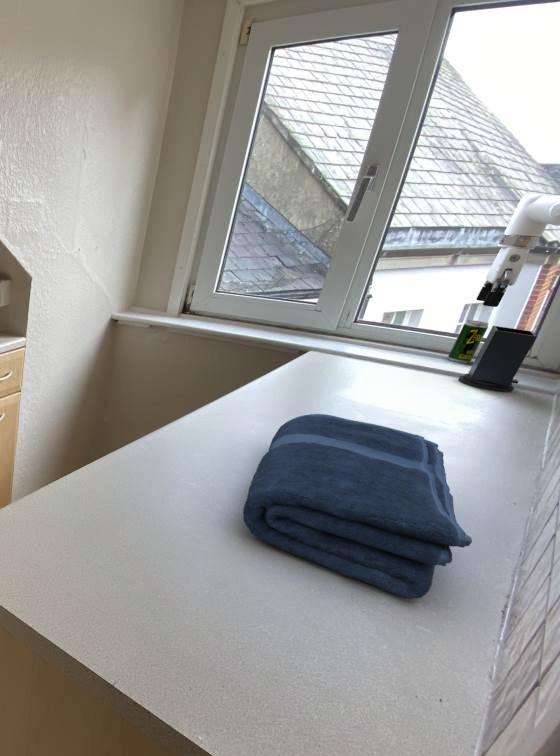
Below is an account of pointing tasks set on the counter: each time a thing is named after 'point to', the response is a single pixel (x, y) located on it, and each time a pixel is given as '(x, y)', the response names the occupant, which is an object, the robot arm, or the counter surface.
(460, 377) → the turntable
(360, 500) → the towel
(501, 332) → the waste bin
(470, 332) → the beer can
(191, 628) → the counter surface
